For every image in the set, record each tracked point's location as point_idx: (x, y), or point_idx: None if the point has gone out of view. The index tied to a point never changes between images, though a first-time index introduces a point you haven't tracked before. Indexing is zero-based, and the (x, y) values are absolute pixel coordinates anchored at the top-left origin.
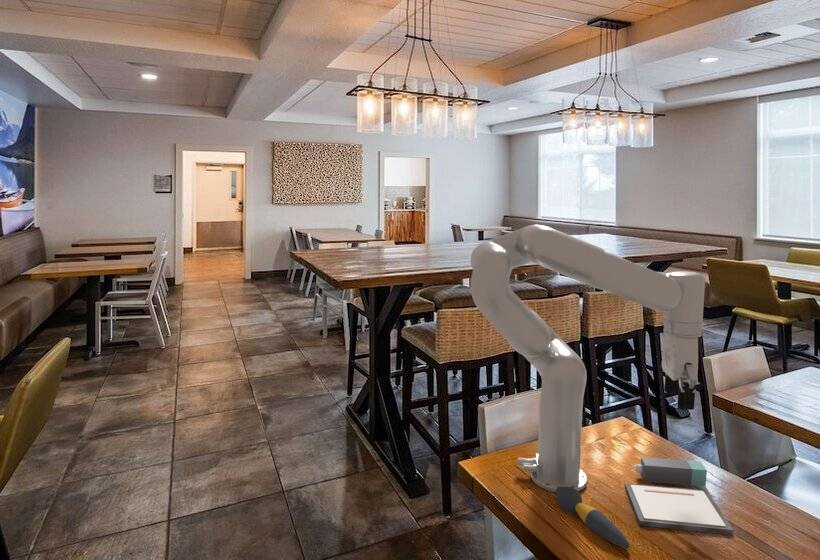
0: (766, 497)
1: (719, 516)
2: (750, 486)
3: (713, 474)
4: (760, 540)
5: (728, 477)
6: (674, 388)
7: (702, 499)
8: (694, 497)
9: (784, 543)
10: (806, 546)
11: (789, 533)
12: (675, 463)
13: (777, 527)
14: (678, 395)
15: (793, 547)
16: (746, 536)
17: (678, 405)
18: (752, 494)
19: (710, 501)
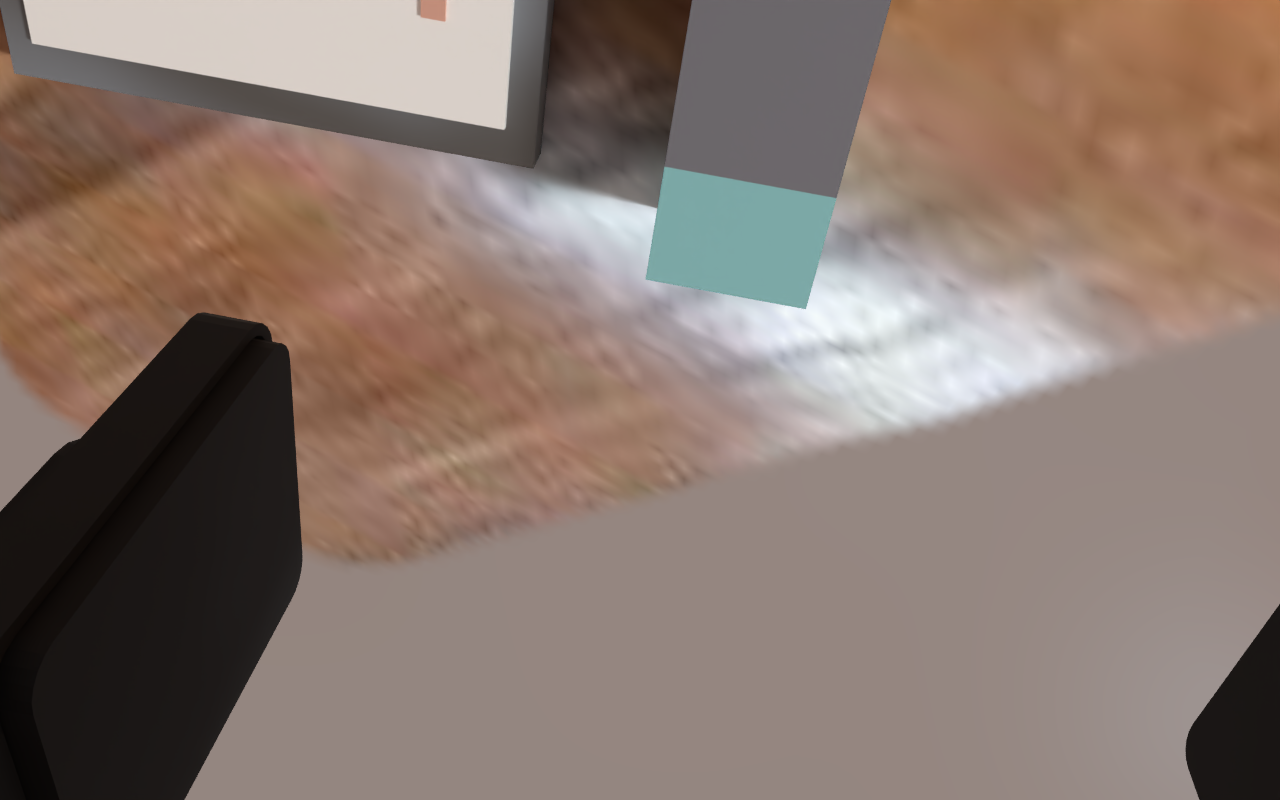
0: (540, 497)
1: (149, 62)
2: (667, 487)
3: (837, 357)
4: (38, 202)
5: (787, 428)
6: (1271, 768)
7: (371, 56)
8: (388, 1)
9: (58, 314)
10: (71, 401)
11: None
12: (781, 54)
13: None
14: (11, 545)
15: (35, 336)
16: (52, 142)
17: (169, 354)
18: (569, 445)
19: (369, 110)
